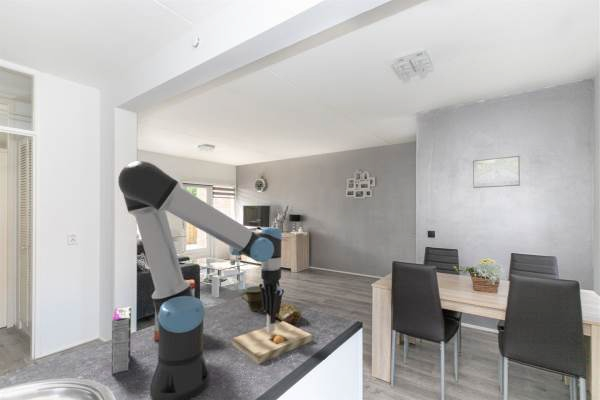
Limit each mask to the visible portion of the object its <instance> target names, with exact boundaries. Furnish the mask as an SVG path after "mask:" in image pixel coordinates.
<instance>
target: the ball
mask: <svg viewBox="0 0 600 400" xmlns="http://www.w3.org/2000/svg"><path fill="white" fill-rule="evenodd" d="M282 342H285V340H284V337H283V336H282V335H277V336H276V337H275V338H274V343H275V344H280V343H282Z"/></svg>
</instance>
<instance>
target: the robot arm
mask: <svg viewBox="0 0 600 400" xmlns="http://www.w3.org/2000/svg"><path fill="white" fill-rule="evenodd" d="M117 180H118V187H119V189H120V192H121V193H122V195H123V198H124V202H125V206H126V208H127V212H128V213H129V215H130V214H131V215H132V216H134V217H135V219H136V223H137V228H138V232H139V234H140V238H141V242H142V245H143V251H144V253H145V257H146V260H147V265H148V267H149V271H150V275H151V279H152V282H153V286H154V291H153V293H152V294H151V299H152V303H153V306H154V310H155V311H156V315H157V319H158V328H159V340H158V353H157V354H158V357H157V358H158V359H157V360H158V361H157V365H156V368H155V370H154V374H153V376H152V379H151V383H150V388H149V390H150V392H149V393H150V398H151V399H153V400H191V399H194V398H196V397H197V396H199V395H201V393H203V392H204V391H205V390H206V388H207V387H208V386H209V383H210V382H209V381H210V380H209V379H210V374H209V369H208V366H207V363H206V360H205V357H204V352H203V351H204V318H205V309H204V304H203V302H202V300H201V299H200V298H197V297H195V296H194V297H193V293H192V290H191V286H190V283H189V282H187V281H185V280H186V279H184V275H183V272H182V268H181V265H180V261H179V257H178V253H177V249H176V246H175V242H174V237H173V234H172V231H171V228H170V227H171V226H170V223H169V220H168V216H167V213H170V214H172V215H174V216H175V217H177V218H179V219H181V220H182V221H184V222H186V223H187V224H189V225H191V226H193V227H195V228H196V229H198V230H200V231H201V232H204V233H206V234H207V235H210V237H211V236H212V238H215V239H216V240H218V241H220V242H221V243H224V244H225V245H227V246H228V249H229V253H230V254H231V255H232V256H238V257H239V256H246V257H248V258H250V259H252V260H253V261H255V262H257V263H259V262H260V263H261V266H260V267H261V268H262V269H261V271H260V272H261V273H260V274H261V275H260V276H261V277H260V278H261V279H262V280H263V281H262V283H260V284H259V285H258V286H259V287H260V290H261V298H262V307H263V308H262V311H264V310H265V312H266V313H265V312H264V313H265V314H266V327H267V332H268V333H270V332H273V331H275V324H276V317H275V315H276V314H279V312H280V306H281V302H282V299H283V295H284V293H285V290H284V289H283V288H282V289H281V287H280V279H281V278H282V268H281V267H282V241H283V238H282V230H281V228H280V227H275V226H274V227H272V226H271V227H269V226H268V227H262V228H261V232H259V233H256V232H254V231H253V230H251V229H249V228H248V227H246V226H245V225H243V224H241V223H240V222H239V221H237V220H234V219H233V218H232V217H230V216H228V215H227V214H226V213H223V212H222V211H220V210H218V209H217V208H215V207H213V206H212V205H210V204H209V203H207V202H205V201H203V200H202V199H200V198H199V197H197V196H195V195H194V194H193V193H191V192H189V191H187V190H185V189H184V188H182V187H181V185H180V182H179V181H178V180H176V179H174V177H172V176H170V175H169V174H168V173H166V172H164V171H163V170H162V169H161V168H160V167H158V166H157V165H155V164H153V163H151V162H148V161H142V160H141V161H140V160H139V161H134V162H131V163H129V164H127V165H125V166H124V167H123V168H122V170H121V171H120V173H119V175H118V179H117ZM155 311H154V312H155Z"/></svg>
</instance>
